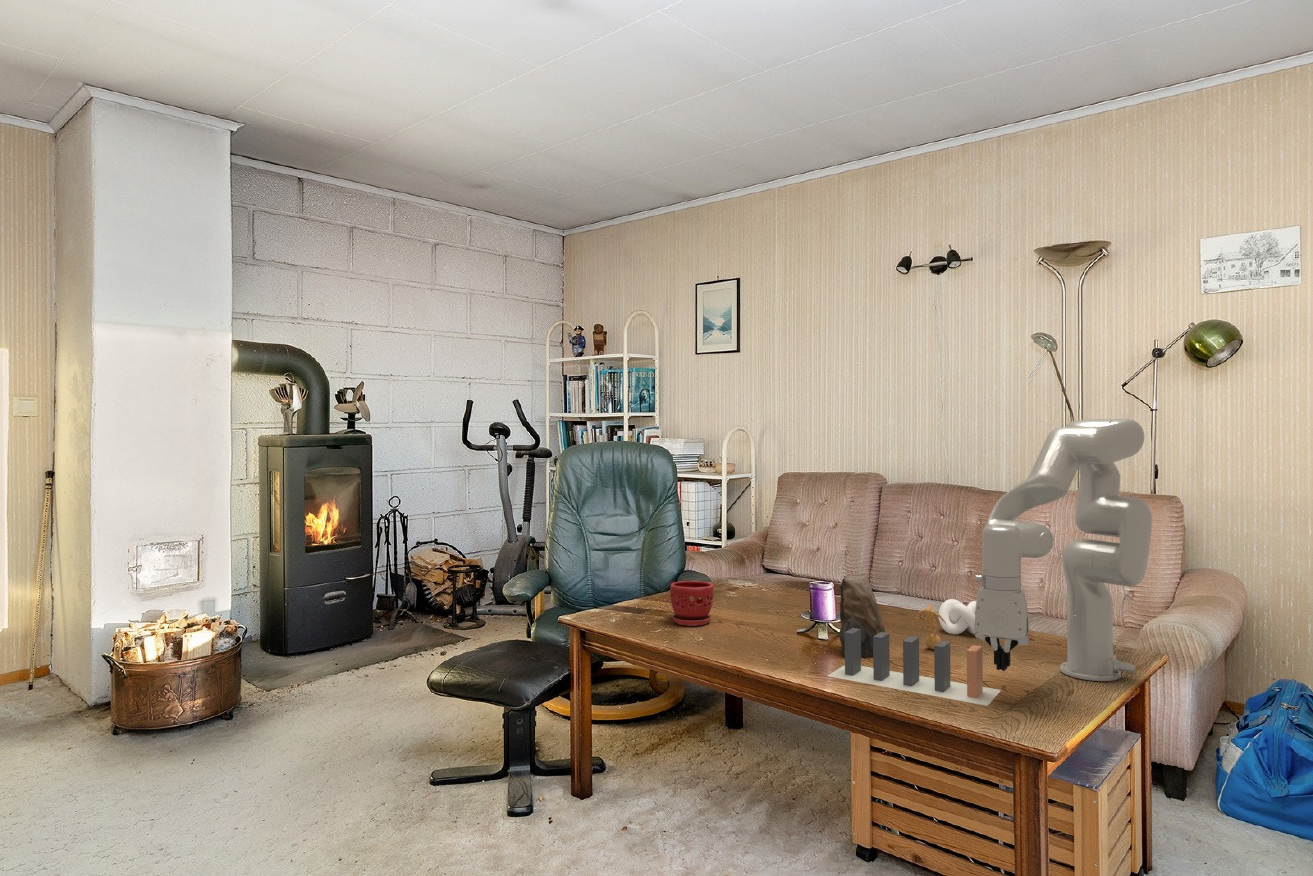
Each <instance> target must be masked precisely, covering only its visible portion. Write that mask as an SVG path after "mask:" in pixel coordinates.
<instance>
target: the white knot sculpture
mask: <svg viewBox="0 0 1313 876" xmlns="http://www.w3.org/2000/svg"><path fill="white" fill-rule="evenodd" d="M975 611H976V600H972V601H970V602H969V603H968V604H967V605H965V604H964V603H962V601H960V600H957V599H954V598H950V599H949V598H948V599H946V600H945V601H943V602H942V604H941V605H940V607H939V610H938V614H939V615H940V616H941V617H942V618H943V619H944V621H945V622H946V624H945V623H944V622H943V621H942V620H941V618H940V617H938V621H939V624H940V626H941V628H942V629H943V630H944V632H946V633H948V634H949V635H954V636H955V635H960V634H961V633H963V632H964V631H966V629H967V631H968V632H969V633H970V634H972V635H973V636H975V634H976V631H975ZM946 625H947V626H946Z"/></svg>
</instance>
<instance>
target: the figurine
mask: <svg viewBox="0 0 1313 876" xmlns="http://www.w3.org/2000/svg"><path fill="white" fill-rule="evenodd" d="M919 614H924V615H925V619H924V622H925V624H926V625H927V628H926V629H927V632H928V635H927V636H926V637H925V640H924V641H925V644H926V646H927V647H928V648H929V649H931V650H934V645H936V644H937V643H938V642H940V641H942V639H941V637H940V636H939V635H938V634H937V633H936V632H935V631H936V630H937V627H938V624H937V622H936V619H934V616H936V617H938V618H939V617H940V618H941V620H942V621H943V622H944V623H945V624H946V622H945V621H944V619H943V618H942V617H941V616H940V615H939V612H938V613H937V612H936V611H935V610H934V609H933V606H932V605H931V604H929V605H928V606H927V607H926V608H923V609H922V610H919V611H918V612H916V616H915V622H918V620H919ZM931 625H932V626H934V627H933V628H932V633H931V630H930V629H931ZM946 626H947V625H946Z"/></svg>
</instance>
